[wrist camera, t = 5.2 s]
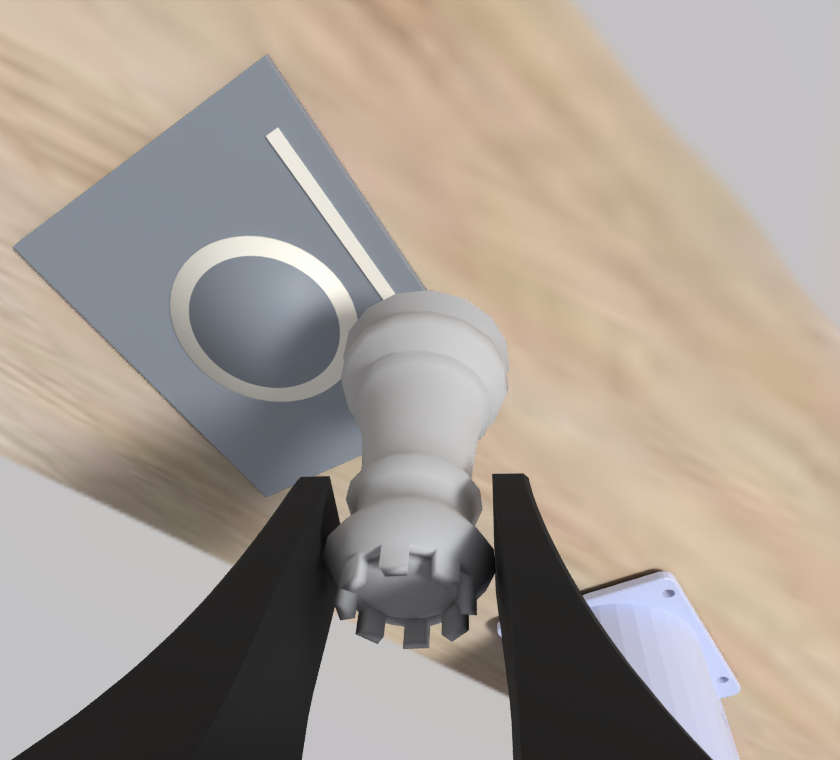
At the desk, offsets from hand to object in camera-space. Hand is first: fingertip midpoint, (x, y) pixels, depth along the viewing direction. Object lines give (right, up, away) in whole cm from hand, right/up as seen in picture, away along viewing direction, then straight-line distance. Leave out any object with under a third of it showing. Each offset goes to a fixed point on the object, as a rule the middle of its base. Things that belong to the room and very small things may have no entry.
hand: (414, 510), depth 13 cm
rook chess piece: (0, +4, +5) cm, 6 cm away
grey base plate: (-5, +5, +7) cm, 10 cm away
